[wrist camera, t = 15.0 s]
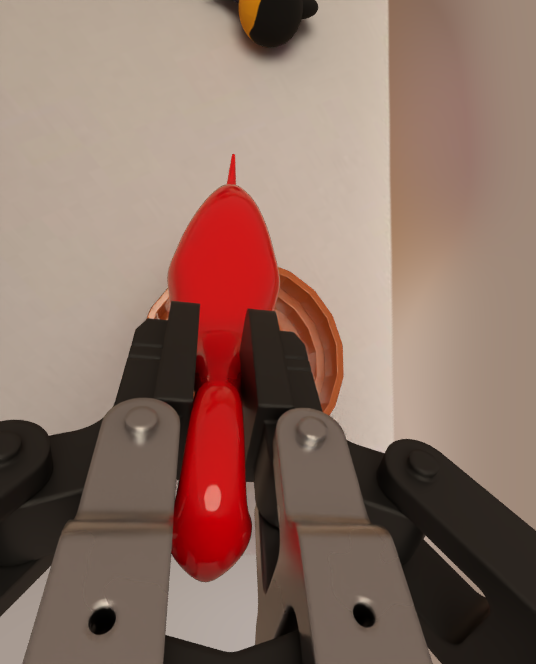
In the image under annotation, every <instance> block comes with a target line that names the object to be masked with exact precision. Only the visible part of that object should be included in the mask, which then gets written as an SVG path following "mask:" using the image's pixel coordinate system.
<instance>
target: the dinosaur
mask: <svg viewBox="0 0 536 664" xmlns="http://www.w3.org/2000/svg"><path fill="white" fill-rule="evenodd" d="M167 282H168V293H169V302H170V306H171V301H179V302H189V303H199V304H200V315H199V329H198V342H197V356H196V370H195V383H194V399H193V408H192V411H191V413H190V418H189V423H188V429H187V434H186V440H185V446H184V452H183V458H182V465H181V471H180V478H179V484H178V489H177V494H176V498H175V503H174V516H173V535H172V548H171V554H172V555H173V557H174V559H175V560H176V561H177V562H178V564H179V565H180V566H181V567H182V568H183V569H184V571H186V572H187V573H188V574H189V575H190V576H191V577H193V578H194V579H196V580H198V581H201V582H210V581H212V580H215V579H217V578H218V577H220V576H221V575H223V574H224V573H225V572H227V571H228V570H229V569H230V568H231V567H232V566H233V565H234V564H235V563H236V562H237V561H238V559H240V557H241V556H242V555H243V553H244V551H245V550H246V548H247V546H248V543H249V541H250V538H251V533H252V521H251V517H250V514H249V511H248V506H247V496H246V462H245V434H244V416H243V405H242V399H241V390H242V375H241V364H240V353H239V351H240V345H241V339H242V333H243V327H244V322H245V316H246V311H247V309H248V308H249V309H258V310H268V311H275V307H276V303H277V299H278V295H279V290H280V276H279V270H278V265H277V261H276V257H275V253H274V249H273V245H272V242H271V238H270V235H269V232H268V229H267V226H266V223H265V221H264V218H263V216H262V214H261V212H260V210H259V208H258V206H257V205H256V203H255V202H254V200H253V199H252V198H251V196H250V195H249V194H248V193H247V192H246V191H245V190H244V189H242V188H241V187H239V186H237V185H236V171H235V154H232V158H231V163H230V169H229V175H228V180H227V184H226V185H223V186H221V187H219V188H218V189H217V190H215V191H214V192H213V193H212V194H211V195H210V196H209V197H208V198H207V199H206V200H205V201H204V203H203V204H202V205H201V206H200V208H199V209H198V210H197V212H196V213H195V215H194V216H193V218H192V219H191V221H190V223H189V224H188V226H187V228H186V230H185V232H184V234H183V236H182V238H181V240H180V242H179V244H178V246H177V249H176V251H175V253H174V256H173V258H172V261H171V263H170V266H169V270H168V276H167Z"/></svg>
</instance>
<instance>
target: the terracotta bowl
mask: <svg viewBox="0 0 536 664" xmlns="http://www.w3.org/2000/svg"><path fill="white" fill-rule="evenodd" d="M278 270H279V276H280V290H279V295H278V299H277V303H276V307H275V312H276V314H277V319H278V324H279V329H280V331H290V332H294V333H295V334H296V335H297V336H298V337H299V339H300V340H301V341H302V342H303V343H304V344H305V348H306V351H307V355H308V361H309V362H310V366H311V372H312V374H313V377H314V381H315V385H316V389H317V392H318V396H319V400H320V403H321V407H322V411H323V413H325V414H327V415H330V414H331V412H332V411H333V409H334V407H335V405H336V402H337V398H338V394H339V391H340V387H341V384H342V380H343V346H342V342H341V339H340V336H339V333H338V330H337V327H336V324H335V321H334V319H333V316H332V314H331V313H330V311H329V310H328V309H327V307H326V306H325V304H324V303H323V302H322V300H321V299H320V297H319V296H318V295H317V293H316V292H315V291H314V290H313V289H312V288H311V287H309V286H308V285H307V284H306V283H304V282H303V281H302V280H300V279H299V278H298V277H296V276H295V275H294V274H293V273H291V272H290V271H287V270H285V269H282V268H279V267H278ZM169 311H170V302H169V293H168V288H167V289H166V291H165V292H164V293H163V294H162V295H161V297H160V298H159V299H158V300H157V301H156V303H155V304H154V305H153V306H152V307H151V309H150V311H149V314H148V316H147V319H148V318H151V319H162V320H168V317H169ZM147 319H146V320H147ZM193 399H194V397H193Z"/></svg>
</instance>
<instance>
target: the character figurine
mask: <svg viewBox="0 0 536 664" xmlns="http://www.w3.org/2000/svg"><path fill="white" fill-rule="evenodd" d="M233 1H235V2H237V3H239V17H240V21H241V24H242V27H243V29H244V31H245V32H246V34H247V35H248V37H249V38H250V39H251V40H252V41H254V42H255V43H257V44H259V45H261V46H264V47H277V46H280V45H283V44H284V43H286V42H287V41H289V40H290V39H291V38H292V37H293V35H294V34H295V33H296V31H297V29H298V27H299V25H300V22H301V19H306V18H309V17H311V16H313V15H314V14H316V12H317V10H318V4H317V2H316V1H315V0H233Z"/></svg>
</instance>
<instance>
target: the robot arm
mask: <svg viewBox="0 0 536 664" xmlns="http://www.w3.org/2000/svg"><path fill="white" fill-rule="evenodd" d="M199 315H200V304H199V303H189V302H179V301H171V306H170V311H169V317H168V320H162V319H151V318H148V319H147V320H145V321H144V322H143V323H142V324H141V325H140V326H139V327H138V328H137V329H136V330H135V334H134V337H133V341H132V346H131V348H130V351H129V356H128V358H127V362H126V365H125V369H124V372H123V376H122V379H121V383H120V387H119V390H118V394H117V397H116V401H115V403H114V406H113V407H112V408H111V409H110V410H109V411H108V412H107V414H106V415H105V417H104V418H102V419H101V420H100V421H98V422H96V423H95V424H93V425H91V426H89V427H86V428H83V429H80V430H76V431H72V432H66V433H61V434H56V435H51V436H48V434H47V432H46V431H45V430H44V429H43V428H42V427H40V426H39V425H37V424H35V423H32V422H29V421H24V420H6V421H0V616H1V615H2V614H3V613H4V612H5V611H6V610H7V609H8V608H9V607H10V606H11V605H12V604H13V603H14V602H15V601H16V600H17V599H18V598H19V597H20V596H21V595H22V594H23V593H24V592H25V591H26V590H27V589H28V588H29V587H30V586H31V585H32V584H33V583H34V582H35V581H36V580H37V579H38V578H39V577H40V576H41V575H42V574H43V573H44V572H45V571H46V570H47V569H48V568H49V567H50V566H51V569H50V572H49V575H48V579H47V582H46V586H45V589H44V592H43V596H42V599H41V603H40V606H39V609H38V613H37V616H36V619H35V623H34V627H33V630H32V633H31V636H30V640H29V643H28V647H27V650H26V654H25V657H24V660H23V664H433V663H432V660H431V657H430V654H429V651H428V648H429V649H430V651H431V652H432V653H433V654H434V655H435V656H436V657H437V659H438V660H439V661H440V662H441V663H442V664H536V531H535V530H534V529H533V528H532V527H530V526H529V525H528V524H527V523H525V522H524V521H523V520H522V519H521V518H519V517H518V516H517V515H516V514H515V513H513V512H512V511H511V510H510V509H509V508H507V507H506V506H505V505H504V504H503V503H501V502H500V501H499V500H498V499H496V498H495V497H494V496H493V495H492V494H490V493H489V492H488V491H486V489H484V488H483V487H482V486H480V485H479V484H478V483H477V482H476V481H475V480H473V479H472V478H471V477H470V476H469V475H467V474H466V473H465V472H463V471H462V470H461V469H460V468H459V467H457V466H456V465H455V464H454V463H453V462H452V461H450V460H449V459H448V458H447V457H445V456H444V455H443V454H442V453H441V452H439V451H438V450H436V449H435V448H433V447H432V446H430V445H428V444H425V443H423V442H420V441H417V440H412V439H402V440H398V441H395V442H393V443H392V444H390V445H389V447H388V448H387V450H386V452H385V453H381V452H378V451H375V450H372V449H369V448H366V447H363V446H359V445H357V444H354V443H352V442H350V441H348V440H346V437H345V434H344V432H343V430H342V428H341V426H340V425H339V424H338V423H337V422H336V421H335V420H334V419H333V418H332V417H330V416H329V415H327V414H325V413H323V411H322V407H321V403H320V400H319V396H318V392H317V389H316V385H315V381H314V377H313V374H312V372H311V366H310V362H309V361H308V355H307V351H306V348H305V344H304V343H303V342H302V341H301V340H300V339H299V337H298V336H297V335H296V334H295V333H294V332H290V331H280V329H279V324H278V319H277V314H276V312H275V311H268V310H258V309H249V308H248V309H247V311H246V316H245V322H244V327H243V333H242V339H241V345H240V351H239V353H240V364H241V375H242V390H241V399H242V405H243V416H244V434H245V462H246V482H254V488H255V501H256V506H255V512H254V517H255V539H256V560H257V579H258V581H257V582H258V616H257V624H256V640H255V645H254V646H252V647H249V648H246V649H243V650H240V651H237V652H225V651H221V650H217V649H213V648H210V647H206V646H203V645H199V644H196V643H192V642H189V641H185V640H181V639H178V638H174V637H170V636H167V635H165V631H166V616H167V602H168V590H169V576H170V562H171V548H172V535H173V516H174V503H175V489H176V479H177V480H179V478H180V471H181V465H182V458H183V452H184V446H185V440H186V434H187V429H188V423H189V418H190V413H191V411H192V408H193V397H194V383H195V370H196V356H197V342H198V329H199ZM425 536H427V537H428V538H429V539H430V540H431V541H432V542H433V543H434V544H435V545H436V546H437V547H438V548H439V549H440V550H441V551H442V552H443V553H444V554H445V555H446V556H447V557H448V558H449V559H450V560H451V561H452V562H453V563H454V564H455V565H456V566H458V568H459V569H460V570H461V571H463V573H464V574H465V575H466V576H467V577H468V578H470V580H472V581H473V583H474V584H476V585H477V587H479V589H480V590H481V591H482V592H483V594H484V595H485V597H483V596H481V595H480V594H479V593H477V592H476V591H475V590H474V589H473V588H472V587H471V586H470V585H469V584H468V583H467V582H466V581H465V580H464V579H463V578H461V576H460V575H459V574H458V573H457V572H456V571H455V570H454V569H453V568H452V567H451V566H450V565H449V564H448V563H447V562H446V561H445V560H444V559H443V558H442V557H441V556H440V555H439V554H438V553H437V552H436V551H435V550H434V549H433V548H432V547H431V546H429V544H427V542H425V540H424V537H425Z"/></svg>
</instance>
